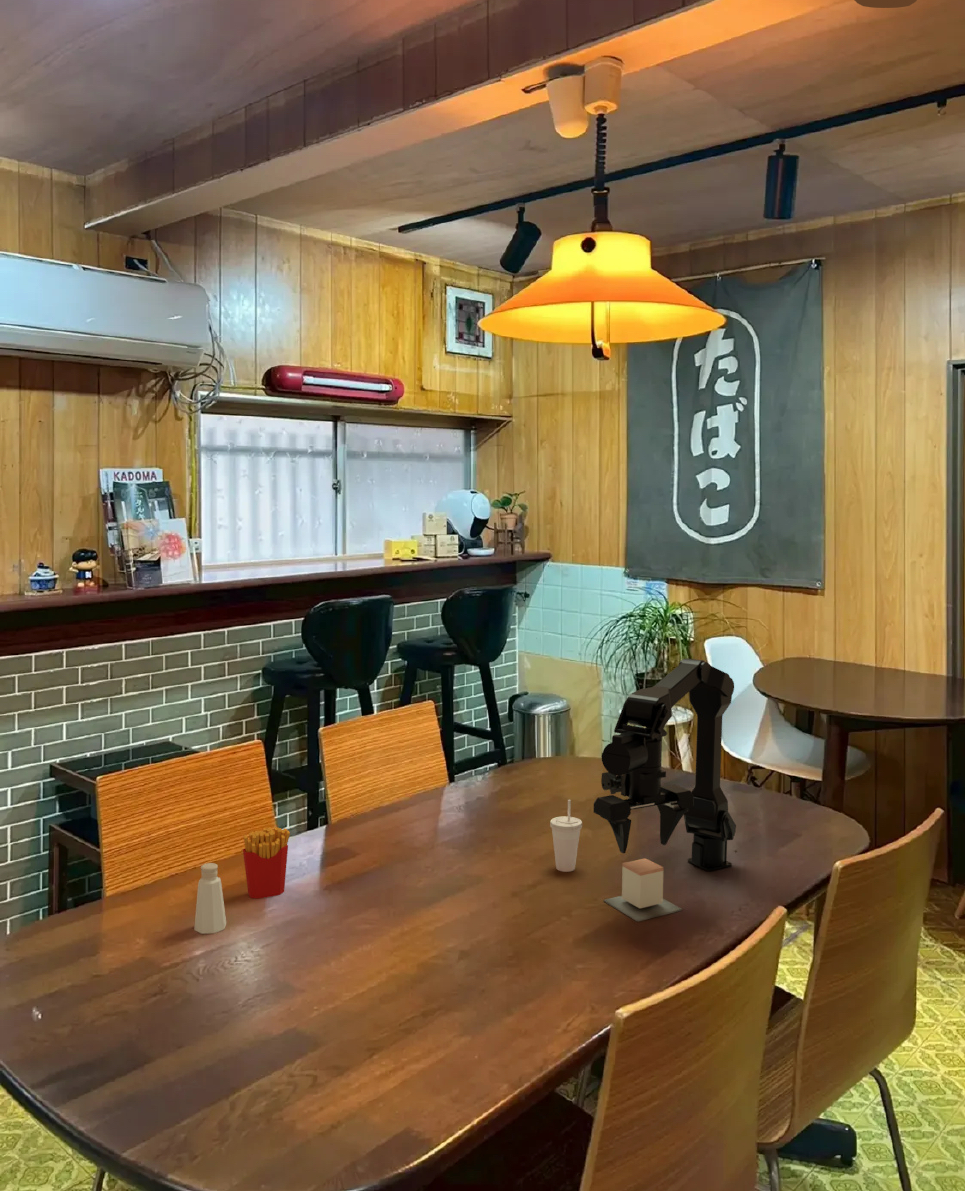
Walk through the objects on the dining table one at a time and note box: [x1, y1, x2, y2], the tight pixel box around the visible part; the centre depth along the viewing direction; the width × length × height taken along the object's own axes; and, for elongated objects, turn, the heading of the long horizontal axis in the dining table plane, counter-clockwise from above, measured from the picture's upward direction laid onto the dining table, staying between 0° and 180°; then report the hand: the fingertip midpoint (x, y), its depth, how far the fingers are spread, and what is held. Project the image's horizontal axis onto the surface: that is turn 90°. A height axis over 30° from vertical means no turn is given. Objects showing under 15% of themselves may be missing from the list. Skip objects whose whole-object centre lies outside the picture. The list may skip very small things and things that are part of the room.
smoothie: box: [549, 799, 583, 873], centre depth 197 cm, size 6×6×14 cm
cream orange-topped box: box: [621, 858, 664, 908], centre depth 179 cm, size 5×5×7 cm
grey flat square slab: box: [603, 895, 683, 923], centre depth 179 cm, size 10×10×7 cm
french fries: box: [242, 826, 291, 899], centre depth 184 cm, size 8×4×12 cm, turn 118°
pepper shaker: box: [193, 862, 227, 935], centre depth 169 cm, size 5×5×11 cm
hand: (643, 848), depth 178 cm, fingers open, 9 cm apart
